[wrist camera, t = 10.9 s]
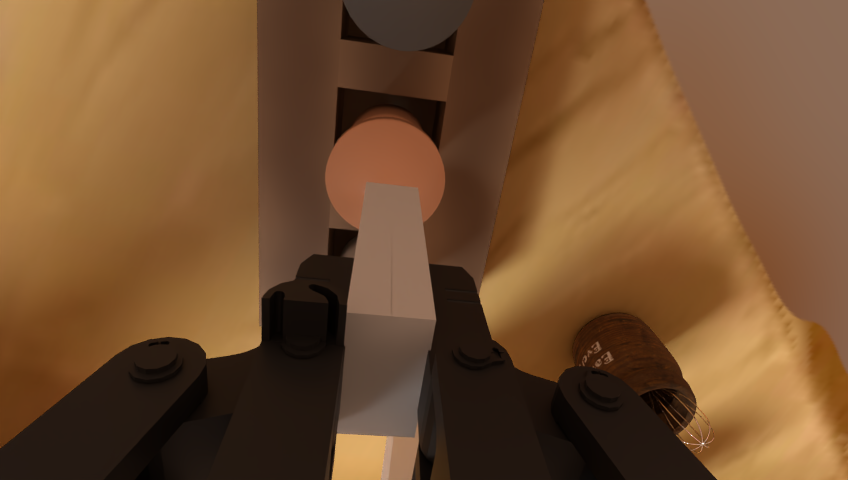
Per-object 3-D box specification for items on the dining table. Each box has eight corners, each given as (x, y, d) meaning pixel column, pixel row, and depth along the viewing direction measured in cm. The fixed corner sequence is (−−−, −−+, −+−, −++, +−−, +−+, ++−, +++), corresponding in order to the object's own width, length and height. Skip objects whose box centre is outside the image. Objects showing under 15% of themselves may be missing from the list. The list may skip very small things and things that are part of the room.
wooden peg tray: (278, 280, 31) (259, 326, 27) (283, -129, 22) (256, -165, 17) (457, 296, 33) (468, 342, 28) (533, -83, 23) (567, -105, 19)
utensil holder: (652, 303, 34) (774, 440, 23) (644, 371, 37) (750, 522, 26) (570, 314, 34) (654, 456, 23) (569, 382, 37) (643, 536, 26)
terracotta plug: (337, 181, 24) (322, 229, 19) (343, 88, 22) (328, 113, 17) (426, 191, 25) (435, 240, 20) (439, 101, 23) (454, 129, 18)
